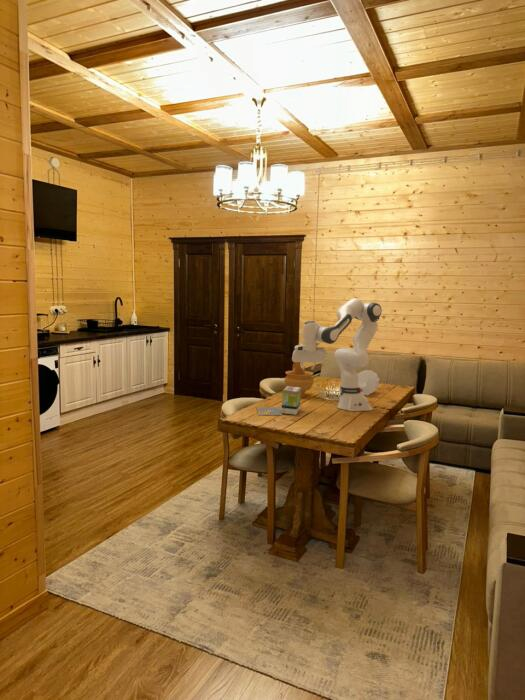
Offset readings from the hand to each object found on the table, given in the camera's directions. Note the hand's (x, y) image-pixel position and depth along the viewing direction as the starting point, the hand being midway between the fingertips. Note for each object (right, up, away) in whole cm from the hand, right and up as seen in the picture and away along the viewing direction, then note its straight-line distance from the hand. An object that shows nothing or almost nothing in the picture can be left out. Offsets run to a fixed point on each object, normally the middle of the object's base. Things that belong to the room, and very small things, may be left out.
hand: (308, 369), depth 298 cm
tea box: (-11, -27, +2) cm, 29 cm away
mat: (-24, -26, +1) cm, 36 cm away
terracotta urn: (-2, -22, +50) cm, 54 cm away
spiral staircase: (+50, -21, +65) cm, 84 cm away
